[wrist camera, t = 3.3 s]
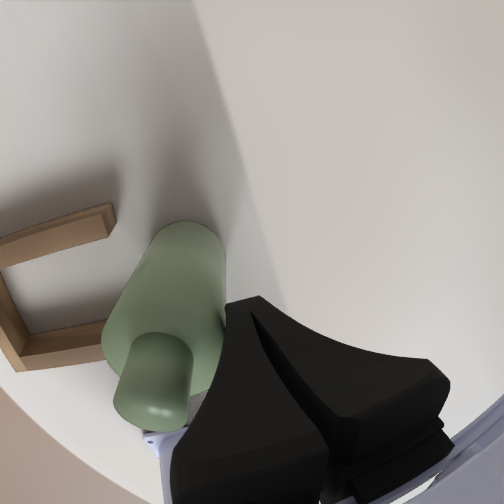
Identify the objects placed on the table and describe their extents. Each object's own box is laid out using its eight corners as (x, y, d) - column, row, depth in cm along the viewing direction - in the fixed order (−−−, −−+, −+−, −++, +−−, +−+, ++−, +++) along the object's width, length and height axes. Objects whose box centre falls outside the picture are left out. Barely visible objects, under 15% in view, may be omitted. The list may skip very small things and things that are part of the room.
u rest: (151, 326, 18) (150, 351, 16) (26, 350, 16) (15, 372, 14) (111, 202, 15) (101, 213, 13) (-23, 247, 13) (-42, 262, 11)
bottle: (231, 286, 18) (240, 444, 8) (160, 297, 18) (117, 446, 8) (218, 214, 16) (207, 349, 6) (140, 229, 16) (52, 358, 6)
